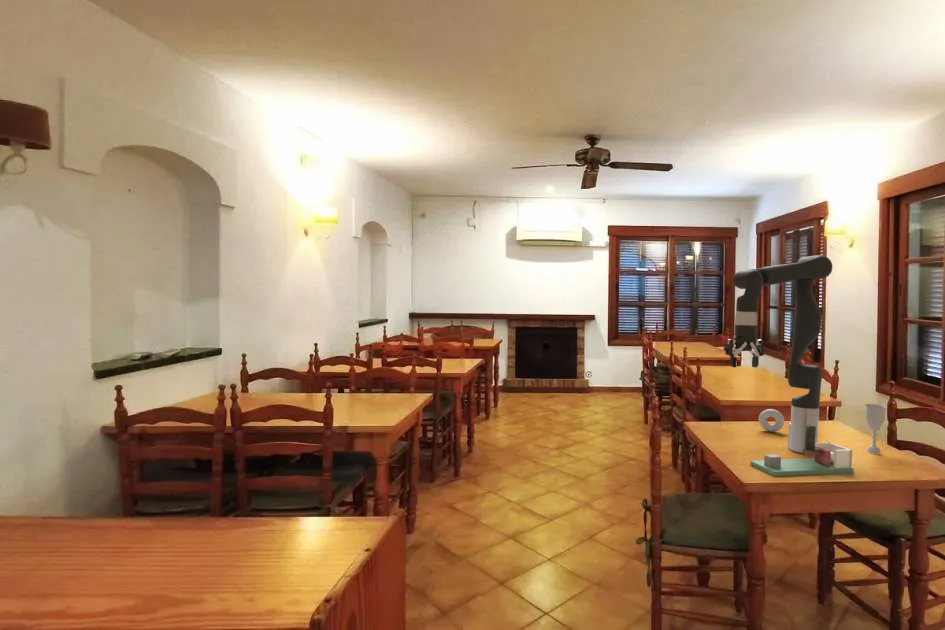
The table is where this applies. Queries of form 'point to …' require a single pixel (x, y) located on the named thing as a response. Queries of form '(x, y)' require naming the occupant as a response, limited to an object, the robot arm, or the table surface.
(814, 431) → the slider rod
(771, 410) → the donut
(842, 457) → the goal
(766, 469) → the playfield
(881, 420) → the chalice
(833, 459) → the ball
